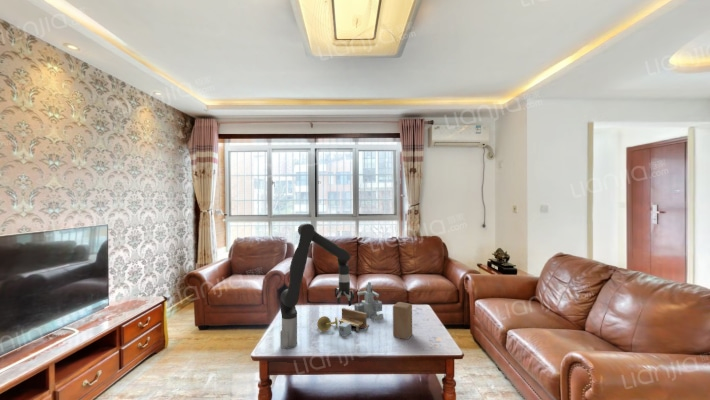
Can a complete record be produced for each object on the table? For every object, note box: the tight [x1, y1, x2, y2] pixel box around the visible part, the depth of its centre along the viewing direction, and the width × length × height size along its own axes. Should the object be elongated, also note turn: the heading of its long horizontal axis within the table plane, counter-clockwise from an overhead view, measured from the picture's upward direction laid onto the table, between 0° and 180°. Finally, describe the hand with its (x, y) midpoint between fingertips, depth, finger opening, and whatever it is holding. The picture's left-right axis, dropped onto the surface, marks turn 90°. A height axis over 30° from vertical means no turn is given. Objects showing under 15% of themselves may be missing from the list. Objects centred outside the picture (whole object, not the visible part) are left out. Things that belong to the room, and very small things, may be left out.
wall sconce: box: [316, 315, 339, 332], centre depth 193 cm, size 14×10×25 cm
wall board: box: [338, 307, 370, 332], centre depth 202 cm, size 11×20×10 cm, turn 57°
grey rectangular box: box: [338, 322, 352, 337], centre depth 190 cm, size 8×5×6 cm, turn 147°
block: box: [392, 301, 413, 340], centre depth 186 cm, size 10×10×20 cm
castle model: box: [354, 281, 384, 321], centre depth 218 cm, size 17×17×25 cm
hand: (344, 304), depth 191 cm, fingers open, 8 cm apart
